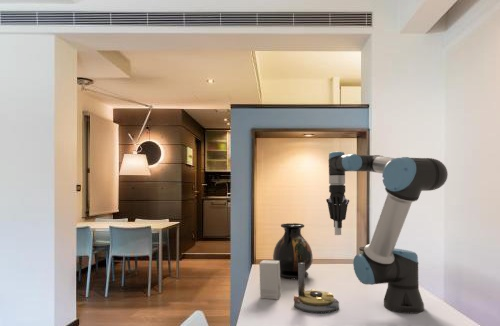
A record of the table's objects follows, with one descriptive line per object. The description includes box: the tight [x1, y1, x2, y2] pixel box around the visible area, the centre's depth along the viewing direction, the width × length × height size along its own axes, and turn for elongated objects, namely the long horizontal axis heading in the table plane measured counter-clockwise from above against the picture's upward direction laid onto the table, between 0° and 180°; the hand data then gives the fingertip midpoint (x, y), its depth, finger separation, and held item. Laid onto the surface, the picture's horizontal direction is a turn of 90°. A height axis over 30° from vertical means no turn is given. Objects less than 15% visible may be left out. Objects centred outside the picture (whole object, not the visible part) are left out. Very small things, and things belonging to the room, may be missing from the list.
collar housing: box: [293, 290, 340, 315], centre depth 153 cm, size 18×18×5 cm
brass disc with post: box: [297, 263, 334, 306], centre depth 153 cm, size 14×14×15 cm
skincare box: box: [259, 259, 281, 300], centre depth 165 cm, size 8×7×16 cm
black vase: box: [272, 222, 313, 280], centre depth 203 cm, size 22×22×28 cm
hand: (338, 234), depth 175 cm, fingers closed
